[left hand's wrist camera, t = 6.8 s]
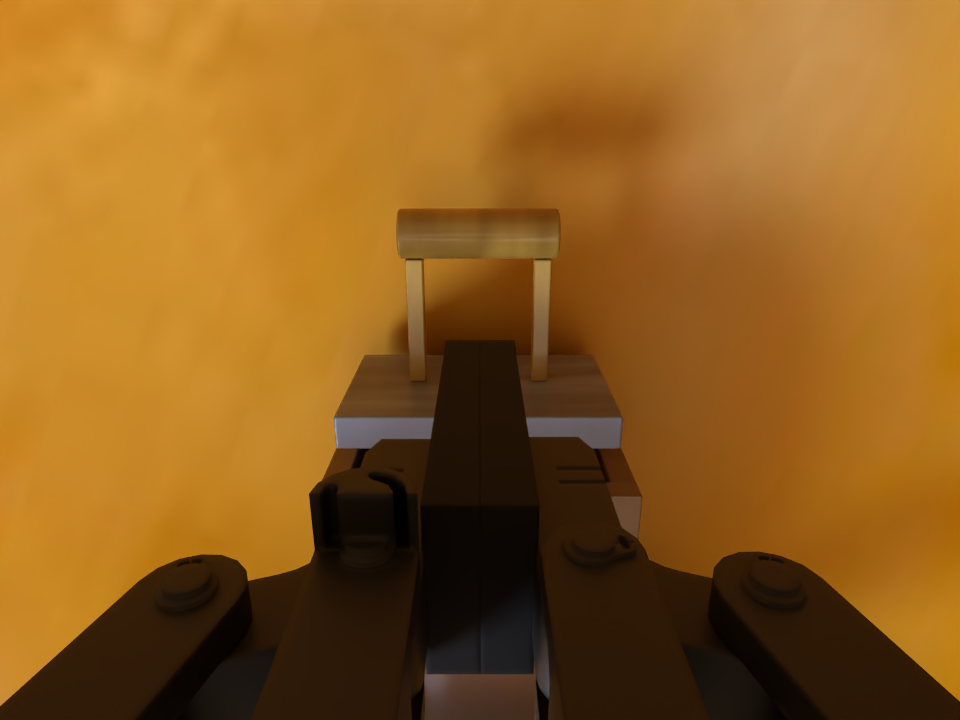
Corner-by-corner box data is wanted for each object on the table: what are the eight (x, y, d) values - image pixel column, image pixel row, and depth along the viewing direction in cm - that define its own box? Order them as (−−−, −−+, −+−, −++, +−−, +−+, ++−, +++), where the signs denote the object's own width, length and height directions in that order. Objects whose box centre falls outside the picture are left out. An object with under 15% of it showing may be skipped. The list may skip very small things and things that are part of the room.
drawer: (354, 200, 25) (316, 223, 19) (603, 199, 25) (639, 223, 19) (384, 671, 33) (364, 787, 27) (573, 671, 33) (592, 787, 27)
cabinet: (357, 398, 29) (314, 496, 21) (600, 398, 29) (642, 496, 21) (379, 709, 35) (352, 870, 27) (578, 709, 35) (605, 870, 27)
